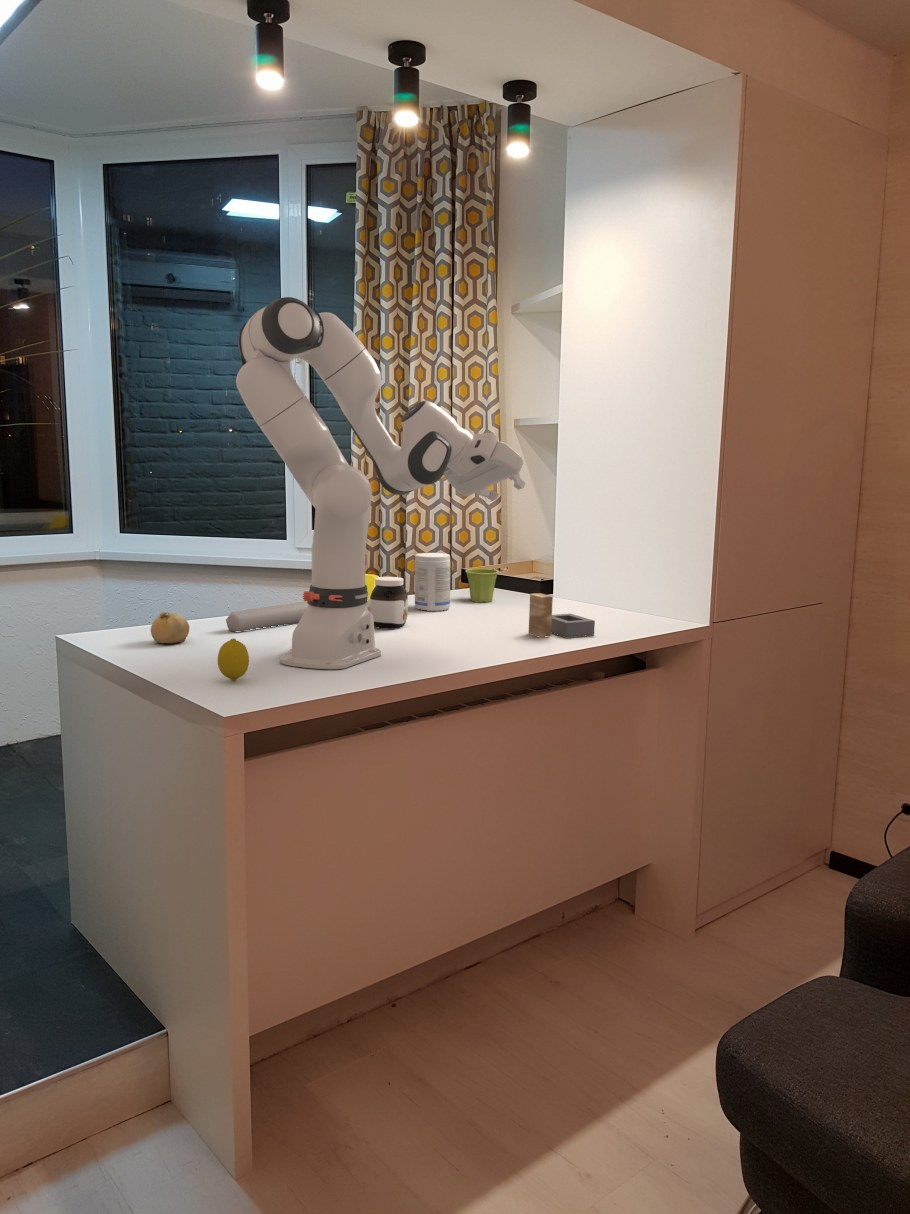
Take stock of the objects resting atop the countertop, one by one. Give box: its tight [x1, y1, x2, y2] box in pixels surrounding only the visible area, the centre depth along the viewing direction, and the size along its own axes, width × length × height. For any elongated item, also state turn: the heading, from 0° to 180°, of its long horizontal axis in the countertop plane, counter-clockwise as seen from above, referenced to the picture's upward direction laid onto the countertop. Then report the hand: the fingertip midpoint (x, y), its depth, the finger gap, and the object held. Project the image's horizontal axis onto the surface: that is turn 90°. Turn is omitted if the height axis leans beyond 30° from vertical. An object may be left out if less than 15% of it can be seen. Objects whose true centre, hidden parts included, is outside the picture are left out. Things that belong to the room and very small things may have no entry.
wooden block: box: [528, 592, 554, 638], centre depth 214 cm, size 3×5×10 cm, turn 28°
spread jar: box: [366, 576, 409, 629], centre depth 222 cm, size 12×11×12 cm
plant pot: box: [465, 568, 500, 603], centre depth 260 cm, size 9×9×9 cm
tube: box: [225, 601, 308, 632], centre depth 218 cm, size 5×5×25 cm
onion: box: [150, 611, 190, 644], centre depth 197 cm, size 8×8×7 cm
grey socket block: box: [551, 613, 596, 638], centre depth 219 cm, size 8×10×4 cm
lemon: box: [217, 638, 250, 682], centre depth 166 cm, size 6×6×8 cm
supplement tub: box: [414, 552, 451, 612], centre depth 245 cm, size 10×10×15 cm
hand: (508, 492), depth 208 cm, fingers open, 8 cm apart
